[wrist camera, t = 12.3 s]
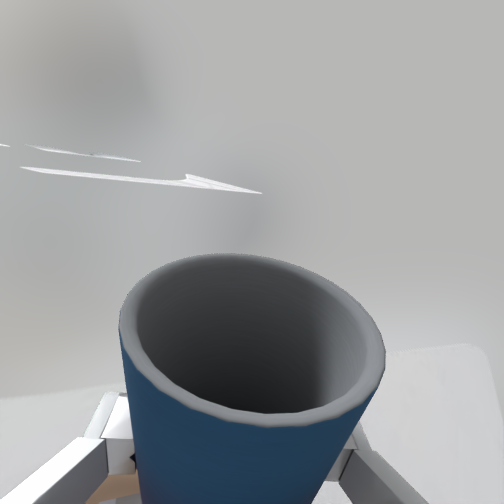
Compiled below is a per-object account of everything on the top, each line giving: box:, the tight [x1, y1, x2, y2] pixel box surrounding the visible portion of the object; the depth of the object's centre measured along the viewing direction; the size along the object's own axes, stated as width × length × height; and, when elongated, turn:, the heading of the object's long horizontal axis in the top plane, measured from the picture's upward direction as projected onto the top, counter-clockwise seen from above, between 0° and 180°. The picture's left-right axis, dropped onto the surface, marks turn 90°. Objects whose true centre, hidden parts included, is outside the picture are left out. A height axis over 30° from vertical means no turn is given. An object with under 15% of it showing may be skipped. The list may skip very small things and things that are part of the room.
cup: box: [119, 253, 386, 504], centre depth 11 cm, size 7×7×15 cm
